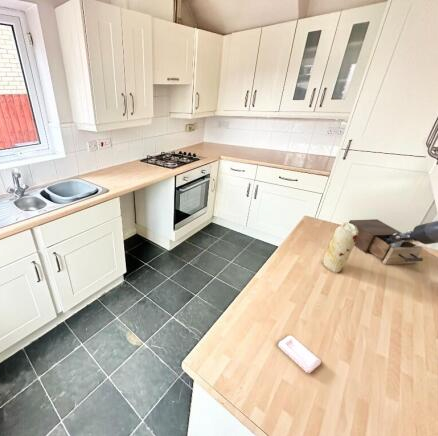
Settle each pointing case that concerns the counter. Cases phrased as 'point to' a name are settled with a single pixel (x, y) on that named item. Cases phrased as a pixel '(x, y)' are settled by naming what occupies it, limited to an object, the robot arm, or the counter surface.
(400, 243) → the tube
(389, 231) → the cabinet
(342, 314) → the counter surface
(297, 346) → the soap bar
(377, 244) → the drawer
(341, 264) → the food model
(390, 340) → the counter surface
